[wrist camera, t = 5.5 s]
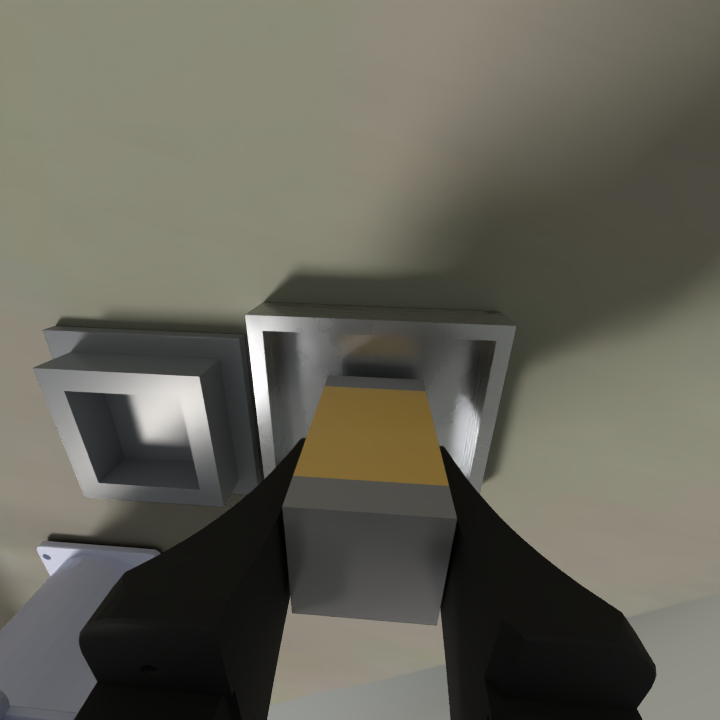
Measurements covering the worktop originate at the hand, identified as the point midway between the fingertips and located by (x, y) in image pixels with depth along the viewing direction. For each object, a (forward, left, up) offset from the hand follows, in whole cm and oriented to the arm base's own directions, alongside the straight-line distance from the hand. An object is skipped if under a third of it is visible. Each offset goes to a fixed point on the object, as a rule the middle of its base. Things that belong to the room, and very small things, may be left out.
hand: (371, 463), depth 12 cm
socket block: (-1, +11, -4) cm, 11 cm away
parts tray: (0, 0, -4) cm, 4 cm away
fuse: (0, 0, -3) cm, 3 cm away
